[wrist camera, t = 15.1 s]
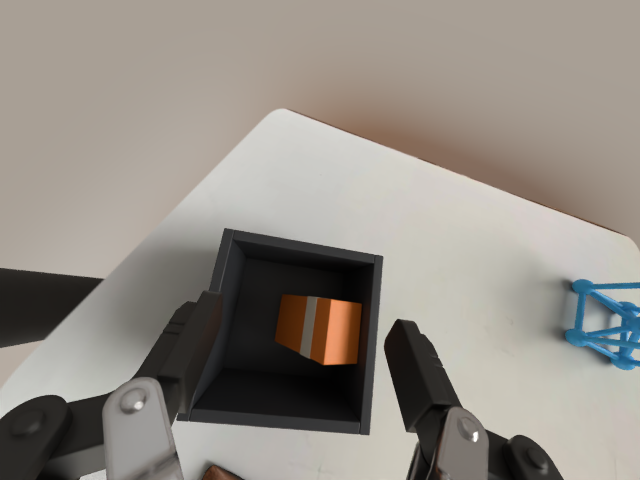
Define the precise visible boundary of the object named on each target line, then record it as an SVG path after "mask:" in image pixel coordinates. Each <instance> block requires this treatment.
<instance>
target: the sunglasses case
mask: <svg viewBox="0 0 640 480" xmlns="http://www.w3.org/2000/svg"><path fill="white" fill-rule="evenodd" d="M202 480H244V479H242V478H240V477H239V476H237V475H235V474H233V473H231V472H229V471H227V470H225V469H223V468H221V467H218V466H215V465H212V466H211V467H210V468H208V470H207V471H206V472H205V474H204V476H203V478H202Z"/></svg>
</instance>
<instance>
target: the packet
mask: <svg viewBox="0 0 640 480" xmlns="http://www.w3.org/2000/svg"><path fill="white" fill-rule="evenodd" d="M361 310H362V304H360V303H354V302H347V301H340V300H333V299H327V298H320V297H311V296H308V297H306V296H297V295H288V294H282V299H281V305H280V311H279V317H278V323H277V329H276V335H275V342H277V343H280V344H282V345H284V346H286V347H288V348H290V349H292V350H294V351H296V352H298V353H300V354H301V355H303V356H305V357H307V358H309V359H313V360H315V361H317V362H319V363H321V364H323V365H336V364H357V358H358V346H359V334H360V322H361Z"/></svg>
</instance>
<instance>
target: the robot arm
mask: <svg viewBox="0 0 640 480" xmlns="http://www.w3.org/2000/svg"><path fill="white" fill-rule="evenodd" d="M222 316H223V293H218V292H211V291H203V292H202V294H201V296H200V298H199V299H198V301H197V303H196V302H189V301H187V302H186V303H185V304H184V305H182V306H181V307H180V308H178V309H177V310H176V311H175V313H174V315H173V316H172V318H171V319H170V321H169V324H167V326H166V327H165V329H164V330H163V333H162V334H161V335H160V337H159V338H158V340H157V341H156V343H155V345H154V346H153V348H152V349H151V351H150V352H149V354H148V356H147V357H146V359H145V360H144V362H143V364H142V365H141V367H140V368H139V370H138V371H137V373H136V374H135V375H134V376H133V377H132V378H131V379H130V380H129V381H128V382H126V383H124V384H122V385H121V386H120V387H118V388H117V389H116V390H114V391H112V392H110V393H107V394H104V395H101V396H96V397H92V398H87V399H82V400H78V401H73V402H69V403H66V401H65V400H64V399H63V398H62V397H60V396H57V395H45V396H40V397H36V398H33V399H31V400H28V401H26V402H24V403H22V404H20V405H19V406H17V407H15V408H14V409H12V410H11V411H10V412H8V413H7V414H6V415H5V416H3V417H2V418H1V419H0V480H79V479H80V477H81V476H84V475H87V474H91V473H94V472H97V471H100V470H103V469H106V476H107V480H184V478H183V474H182V470H181V466H180V462H179V458H178V454H177V451H176V447H175V442H174V438H173V434H172V430H171V426H172V424H173V422H174V419H175V417H176V415H177V413H184V414H186V413H187V411H188V408H189V406H190V403H191V400H192V398H193V395H194V393H195V390H196V388H197V385H198V383H199V380H200V378H201V375H202V373H203V370H204V368H205V365H206V363H207V360H208V358H209V355H210V353H211V350H212V348H213V345H214V343H215V340H216V338H217V335H218V333H219V330H220V327H221V323H222ZM384 351H385V355H386V359H387V363H388V366H389V370H390V374H391V377H392V381H393V385H394V389H395V392H396V396H397V400H398V403H399V407H400V411H401V414H402V418H403V422H404V425H405V429H406V432H410V433H417V435H418V438H419V440H418V442H417V444H416V447H415V450H414V454H413V457H412V461H411V464H410V468H409V471H408V475H407V478H406V480H564V479H563V478H562V476H561V474H560V473H559V471H558V469H557V468H556V466H555V464H554V463H553V461H552V460H551V458H550V457H549V456H548V454H547V453H546V452H545V451H544V450H543V449H542V448H541V447H540V446H539V445H538V444H537V443H536V442H534V441H533V440H531V439H530V438H528V437H526V436H523V435H516V436H514V437H513V438H511V439H510V440H508V439H506V438H504V437H501V436H499V435H497V434H495V433H493V432H491V431H488V430H486V429H484V427H483V426H482V424H481V423H480V421H479V420H478V419H477V418H476V417H475V416H474V415H473V414H472V413H470V412H469V411H467V410H466V409H464V408H463V407H462V405H461V403H460V401H459V399H458V397H457V395H456V393H455V391H454V389H453V386H452V384H451V382H450V380H449V378H448V376H447V374H446V372H445V369H444V368H443V367H442V366H443V365H442V363H441V361H440V359H439V358H438V355H437V352H436V350H435V348H434V346H433V344H432V343H431V342H430V341H429V340H428V338H427V337H426V336H425V335H424V334H421V333H420V331H419V329H418V327H417V325H416V323H415V322H414V321H408V320H401V319H397V320H396V321H395V323H394V325H393V326H392V328H391V330H390V332H389V333H388V335H387V337H386V339H385V343H384Z"/></svg>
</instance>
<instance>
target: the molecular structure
mask: <svg viewBox="0 0 640 480" xmlns="http://www.w3.org/2000/svg"><path fill="white" fill-rule="evenodd" d="M572 288H573V290H574V291H575V292H576V293H578V294H579V298H578V305H577V313H576V320H575V328H574V329H570V330H568V331H567V332H566V334H565V337H566V339H567V341H568V342H570V343H571V344H573V345H575V346H580V347H582V346H586V345H587V346H589V347H591V348H593V349H595V350H597V351H599V352H601V353H603V354H605V355H607V356H609V357H610V361H611V362H612V363H613V364H614V365H615V366H616V367H618V368H620V369H623V370H632V369H634V368H635V366H638V367H640V361H637V360H634V358H633V357H632V356H630V355H631V353H632V351H633V349H640V343H638V340H639V338H640V317H637V315H638V314H639V313H640V307H637V306H636V305H634V304H632V303H630V302H619V303H618V302H616V301H615V300H613V299H611V298H609V297H607V296H605V295H603V294H601V293H599V292H597V291H595V289H632V288H640V282H637V283H612V284H593V283H592V282H591V281H589V280H585V279H580V280H576V281H575V282H574V283H573V285H572ZM586 295H591V296H592V297H594V298H595V299H597V300H598V301H600V302H601V303H602V304H604V305H605V306H607V307H608V308H610V309H611V310H613V311H614V312H616V313H617V314H618V315H620V316H621V317H622V321H621V326H620V327H615V328H610V329H604V330H599V331H593V332H588V333H585V332H584V331H582V325H583V317H584V309H585V301H586ZM629 331H631V332H632V334H631V336H630V338H629V340H628V336H629ZM617 333H621V334H620V340H614V339H606V338H598V337H600V336H606V335H612V334H617ZM595 343H600V344H607V345H614V346H620V347H619V352H614V353H612V352H610V351H608V350H606V349H604V348H602V347H600V346H598V345H597V344H595Z"/></svg>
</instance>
